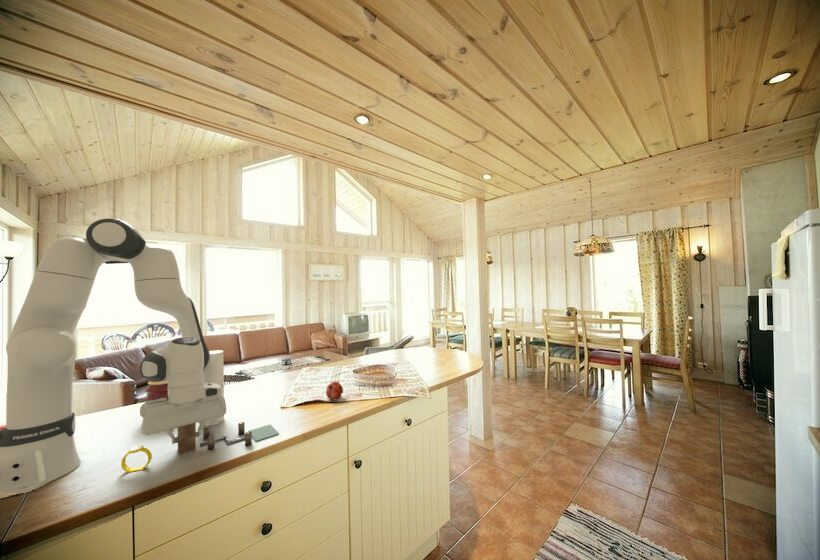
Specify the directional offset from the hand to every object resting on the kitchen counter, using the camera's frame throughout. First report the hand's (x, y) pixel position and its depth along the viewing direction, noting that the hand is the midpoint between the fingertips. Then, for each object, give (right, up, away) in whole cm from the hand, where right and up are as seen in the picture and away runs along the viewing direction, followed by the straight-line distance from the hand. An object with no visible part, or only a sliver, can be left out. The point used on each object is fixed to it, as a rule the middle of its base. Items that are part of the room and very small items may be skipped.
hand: (186, 439), depth 90 cm
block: (0, -3, 0) cm, 3 cm away
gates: (+9, -3, +5) cm, 11 cm away
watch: (-6, -3, -10) cm, 12 cm away
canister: (-25, -5, +24) cm, 35 cm away
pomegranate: (+35, -4, +39) cm, 53 cm away
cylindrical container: (-5, -4, +19) cm, 20 cm away
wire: (+9, -3, +5) cm, 11 cm away
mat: (+18, -3, +9) cm, 21 cm away
